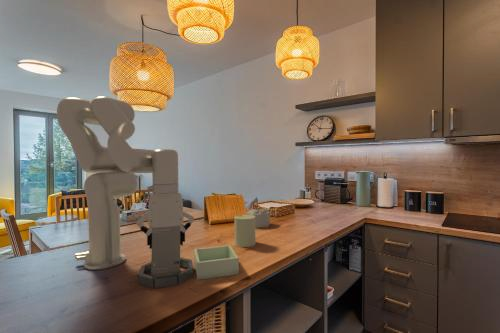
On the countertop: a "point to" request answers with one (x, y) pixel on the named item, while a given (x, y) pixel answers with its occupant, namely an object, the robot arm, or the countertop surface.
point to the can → (244, 230)
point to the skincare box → (165, 251)
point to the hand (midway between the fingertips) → (166, 245)
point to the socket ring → (165, 280)
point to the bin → (215, 262)
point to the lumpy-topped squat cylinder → (260, 217)
